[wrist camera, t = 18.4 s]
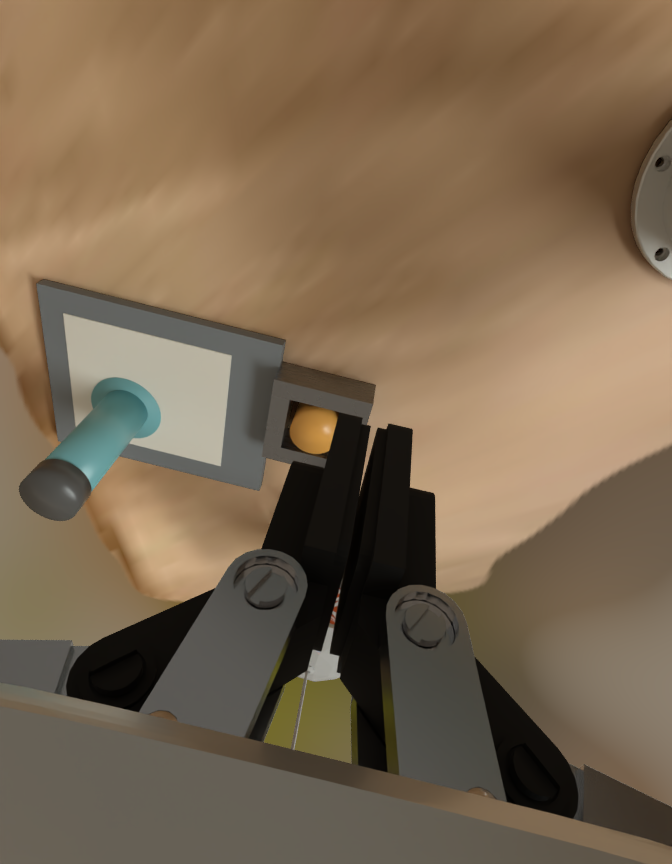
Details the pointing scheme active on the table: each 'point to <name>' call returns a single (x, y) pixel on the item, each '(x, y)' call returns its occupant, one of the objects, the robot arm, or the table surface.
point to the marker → (83, 457)
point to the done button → (313, 428)
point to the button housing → (312, 391)
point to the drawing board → (163, 380)
